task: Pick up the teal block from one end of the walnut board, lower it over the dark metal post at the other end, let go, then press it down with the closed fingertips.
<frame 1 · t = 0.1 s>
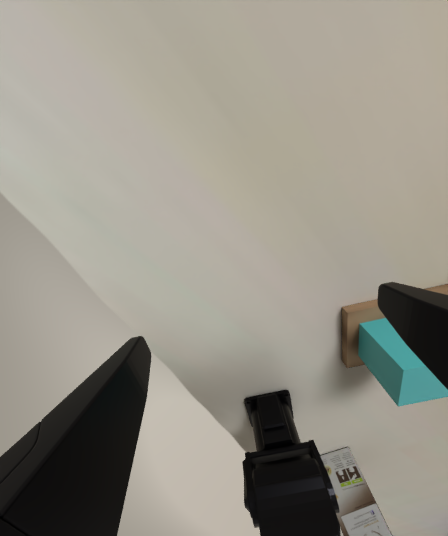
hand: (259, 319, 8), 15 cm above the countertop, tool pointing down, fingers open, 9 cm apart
walnut board: (421, 318, 28), on the countertop
teal block: (380, 335, 27), point 1 cm above the countertop, touching walnut board
coffee box: (336, 461, 42), on the countertop
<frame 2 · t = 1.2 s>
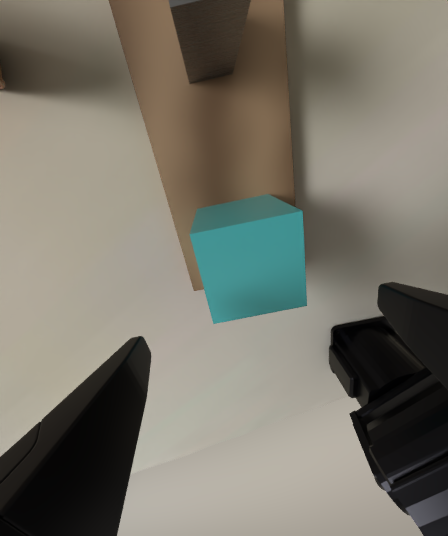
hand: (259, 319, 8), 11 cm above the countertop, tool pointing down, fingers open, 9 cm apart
post: (206, 50, 13), resting on walnut board
walnut board: (222, 150, 16), on the countertop
teal block: (238, 235, 17), point 1 cm above the countertop, touching walnut board
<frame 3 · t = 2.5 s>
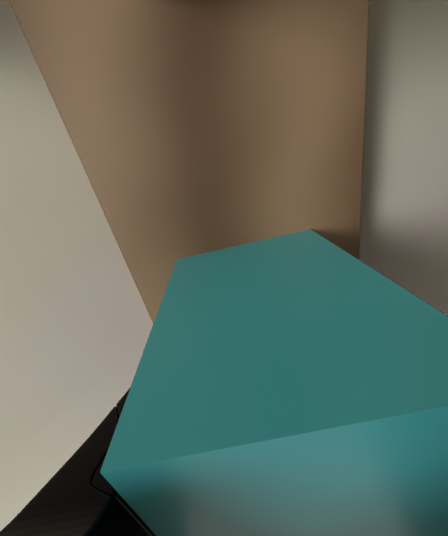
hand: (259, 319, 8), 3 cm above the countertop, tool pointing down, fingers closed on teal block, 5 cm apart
walnut board: (221, 148, 8), on the countertop
teal block: (253, 300, 10), point 1 cm above the countertop, touching gripper, walnut board
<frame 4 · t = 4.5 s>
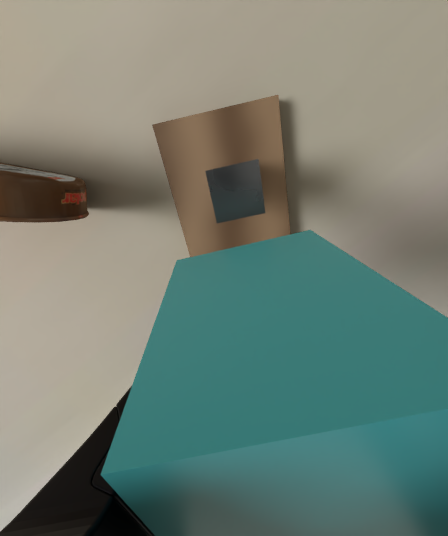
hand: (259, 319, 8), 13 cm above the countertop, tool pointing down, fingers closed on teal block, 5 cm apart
post: (228, 184, 18), resting on walnut board
walnut board: (238, 240, 21), on the countertop
teal block: (253, 301, 10), point 12 cm above the countertop, touching gripper
tin: (12, 177, 18), on the countertop
when the fingers open (5 cm above the countertop, at t = 6.6 s): teal block drops 2 cm, resting on post.
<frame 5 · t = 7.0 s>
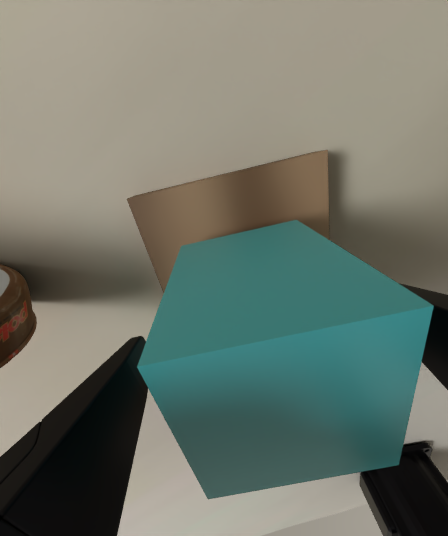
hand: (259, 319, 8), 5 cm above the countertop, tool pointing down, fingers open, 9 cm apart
walnut board: (256, 331, 15), on the countertop
teal block: (248, 283, 11), point 2 cm above the countertop, touching post
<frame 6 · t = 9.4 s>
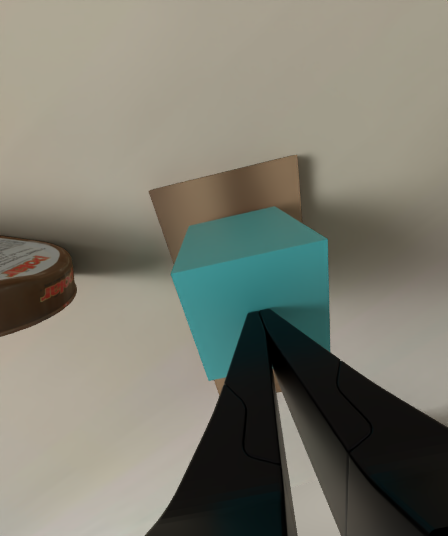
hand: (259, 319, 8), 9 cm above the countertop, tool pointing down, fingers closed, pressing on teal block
walnut board: (248, 301, 18), on the countertop
teal block: (239, 255, 14), point 2 cm above the countertop, touching gripper, post
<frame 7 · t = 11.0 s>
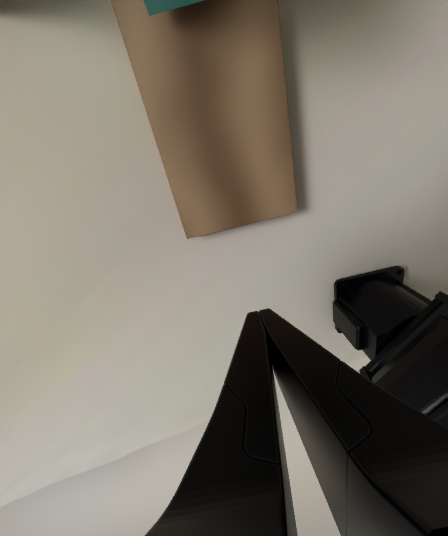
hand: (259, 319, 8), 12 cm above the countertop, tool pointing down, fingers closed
walnut board: (209, 75, 15), on the countertop
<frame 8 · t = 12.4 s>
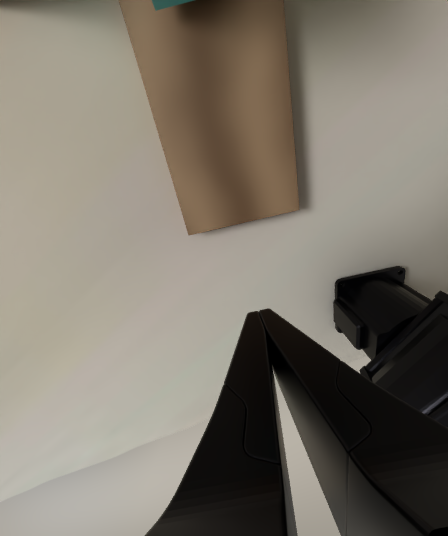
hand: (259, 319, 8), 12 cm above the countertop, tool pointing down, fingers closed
walnut board: (213, 71, 15), on the countertop
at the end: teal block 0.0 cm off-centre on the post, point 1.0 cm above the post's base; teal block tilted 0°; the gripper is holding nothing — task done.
